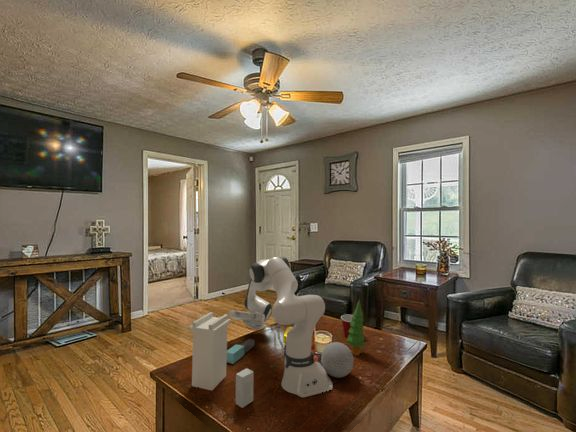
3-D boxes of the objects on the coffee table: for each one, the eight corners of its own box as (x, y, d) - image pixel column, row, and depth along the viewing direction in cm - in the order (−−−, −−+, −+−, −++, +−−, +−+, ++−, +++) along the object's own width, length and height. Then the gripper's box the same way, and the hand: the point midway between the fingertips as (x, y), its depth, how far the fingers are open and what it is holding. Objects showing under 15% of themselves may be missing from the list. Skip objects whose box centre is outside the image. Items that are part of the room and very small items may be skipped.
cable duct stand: (206, 370, 140) (208, 311, 140) (229, 375, 137) (230, 315, 137) (188, 386, 127) (189, 321, 127) (212, 392, 123) (214, 325, 123)
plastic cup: (339, 338, 181) (339, 319, 181) (341, 332, 191) (341, 313, 191) (357, 341, 178) (357, 321, 178) (358, 334, 188) (359, 315, 188)
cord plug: (247, 344, 169) (247, 335, 169) (255, 346, 167) (255, 337, 167) (225, 361, 149) (225, 351, 149) (233, 363, 147) (233, 353, 147)
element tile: (307, 345, 171) (308, 337, 171) (282, 342, 174) (282, 334, 174) (310, 335, 186) (310, 327, 186) (287, 332, 189) (287, 325, 189)
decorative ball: (353, 370, 144) (355, 339, 144) (351, 387, 130) (353, 353, 130) (323, 365, 148) (324, 335, 148) (317, 380, 134) (319, 347, 134)
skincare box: (246, 396, 121) (246, 367, 121) (253, 401, 118) (254, 371, 118) (234, 403, 116) (235, 373, 116) (242, 408, 114) (242, 377, 114)
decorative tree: (365, 357, 158) (367, 301, 157) (348, 356, 158) (349, 300, 158) (361, 349, 167) (362, 296, 167) (344, 348, 168) (346, 295, 167)
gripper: (235, 311, 178) (226, 305, 166) (267, 315, 172) (260, 309, 160) (233, 321, 175) (223, 316, 163) (265, 326, 169) (257, 321, 157)
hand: (241, 313), depth 162 cm, fingers open, 7 cm apart
